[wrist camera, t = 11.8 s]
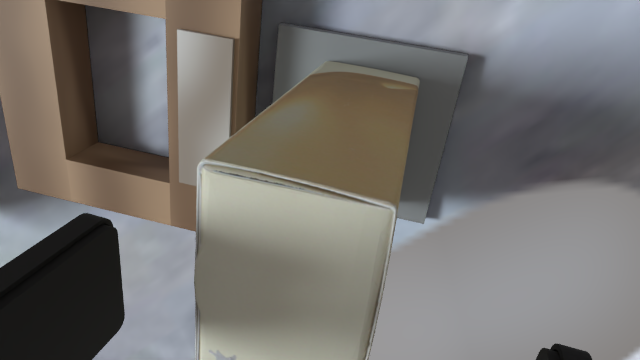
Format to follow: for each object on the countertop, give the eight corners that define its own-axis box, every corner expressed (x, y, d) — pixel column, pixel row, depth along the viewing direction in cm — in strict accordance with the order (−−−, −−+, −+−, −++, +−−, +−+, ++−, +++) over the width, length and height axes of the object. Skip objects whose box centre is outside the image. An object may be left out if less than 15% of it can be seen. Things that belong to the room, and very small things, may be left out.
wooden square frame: (264, -36, 20) (240, -35, 17) (248, 215, 25) (228, 242, 23) (15, -73, 21) (-38, -77, 19) (52, 169, 27) (14, 189, 25)
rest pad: (467, 54, 19) (468, 56, 19) (424, 217, 23) (424, 223, 22) (282, 22, 21) (278, 24, 20) (269, 183, 24) (265, 188, 24)
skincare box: (394, 202, 22) (353, 430, 12) (306, 183, 23) (190, 383, 12) (424, 68, 19) (406, 208, 9) (323, 51, 20) (188, 160, 9)
